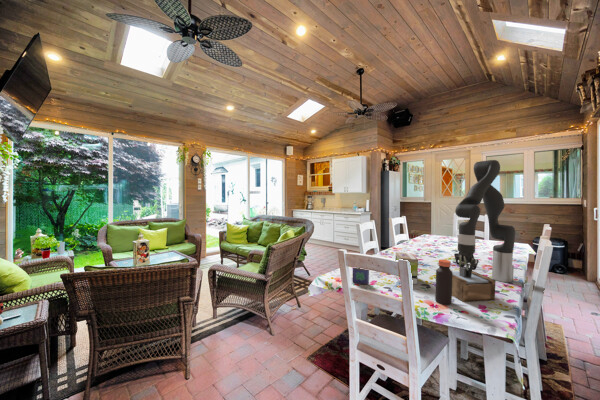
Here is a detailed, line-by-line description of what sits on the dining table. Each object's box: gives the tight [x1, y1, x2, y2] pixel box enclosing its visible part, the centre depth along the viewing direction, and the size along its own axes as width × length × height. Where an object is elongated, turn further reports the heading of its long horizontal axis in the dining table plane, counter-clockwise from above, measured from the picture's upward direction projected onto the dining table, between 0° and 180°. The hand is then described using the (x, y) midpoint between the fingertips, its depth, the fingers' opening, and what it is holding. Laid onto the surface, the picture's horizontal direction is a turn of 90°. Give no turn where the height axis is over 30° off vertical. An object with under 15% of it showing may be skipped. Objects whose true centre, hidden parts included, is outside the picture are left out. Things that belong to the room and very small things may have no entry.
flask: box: [351, 267, 370, 286], centre depth 141 cm, size 9×3×11 cm, turn 68°
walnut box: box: [452, 270, 497, 303], centre depth 129 cm, size 18×17×10 cm
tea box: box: [395, 252, 419, 285], centre depth 148 cm, size 15×10×15 cm
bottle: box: [434, 259, 453, 306], centre depth 118 cm, size 7×7×20 cm
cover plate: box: [452, 266, 489, 284], centre depth 128 cm, size 14×14×6 cm
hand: (465, 275), depth 128 cm, fingers open, 3 cm apart
